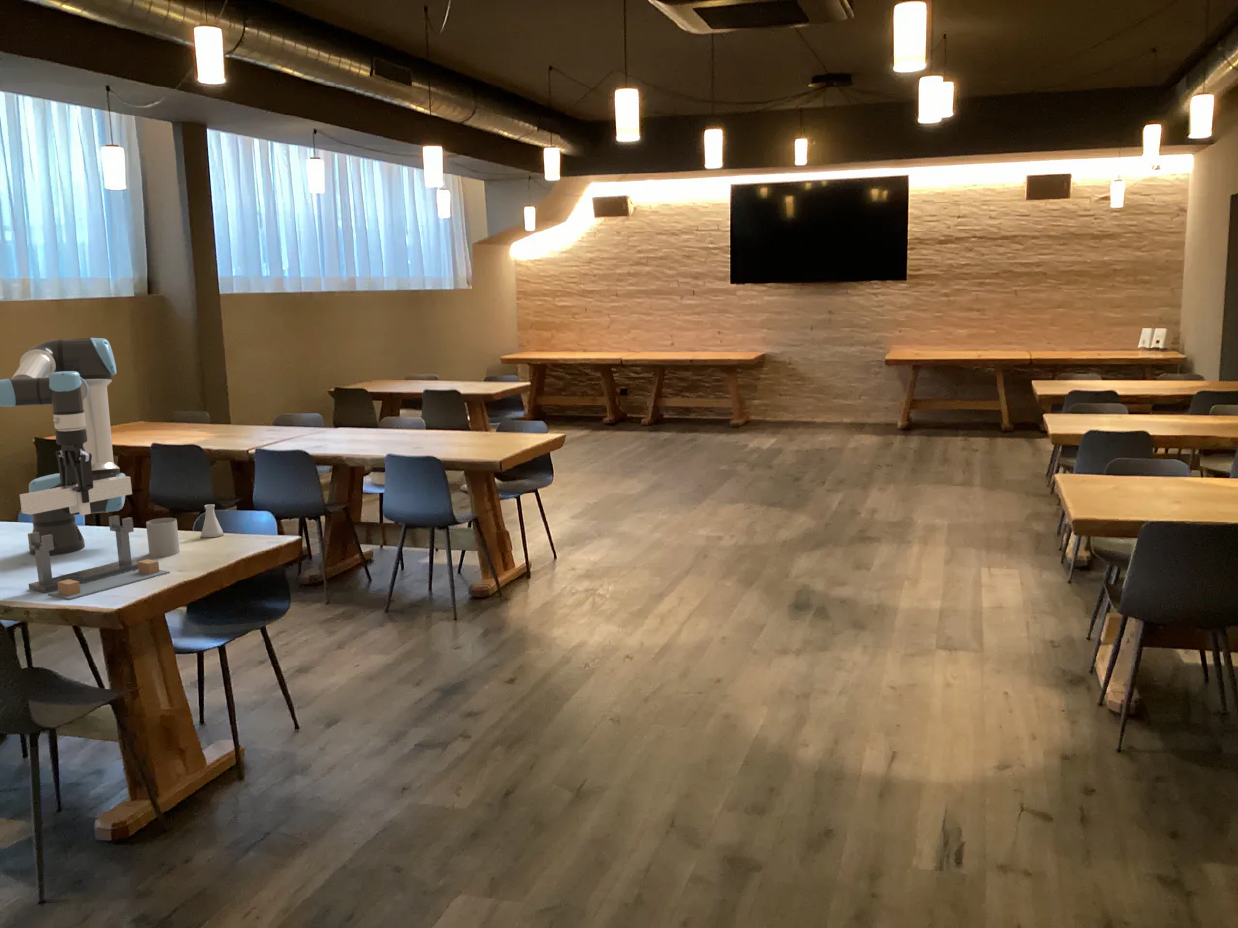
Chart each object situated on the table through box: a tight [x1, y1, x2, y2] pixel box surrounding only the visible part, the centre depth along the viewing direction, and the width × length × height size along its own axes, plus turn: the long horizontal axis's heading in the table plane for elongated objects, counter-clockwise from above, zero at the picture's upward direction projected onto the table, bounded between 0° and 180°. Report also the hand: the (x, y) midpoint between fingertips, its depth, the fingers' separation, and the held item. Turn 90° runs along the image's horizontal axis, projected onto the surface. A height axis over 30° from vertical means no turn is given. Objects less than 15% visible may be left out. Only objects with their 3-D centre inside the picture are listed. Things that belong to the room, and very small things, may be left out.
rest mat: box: [47, 558, 171, 601], centre depth 288 cm, size 10×29×3 cm, turn 147°
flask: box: [200, 503, 224, 538], centre depth 341 cm, size 7×7×10 cm
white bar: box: [19, 475, 133, 516], centre depth 290 cm, size 4×29×5 cm, turn 147°
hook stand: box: [27, 514, 139, 594], centre depth 293 cm, size 8×28×15 cm, turn 147°
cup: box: [145, 517, 181, 558], centre depth 319 cm, size 8×8×10 cm
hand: (80, 513), depth 291 cm, fingers closed on white bar, 4 cm apart
